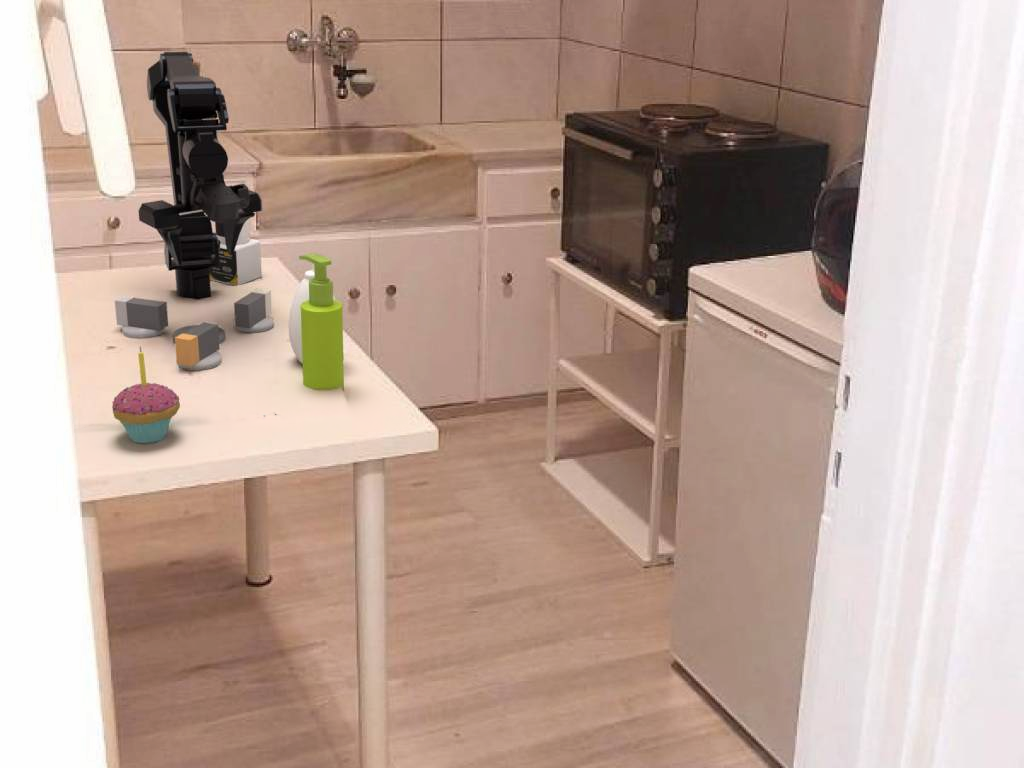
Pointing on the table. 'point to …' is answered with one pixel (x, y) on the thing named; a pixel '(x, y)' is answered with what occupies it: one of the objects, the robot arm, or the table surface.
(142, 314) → the knob near
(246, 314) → the knob
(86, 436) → the table surface
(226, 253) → the medicine bottle
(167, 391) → the cupcake
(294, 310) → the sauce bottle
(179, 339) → the knob
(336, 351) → the soap dispenser
